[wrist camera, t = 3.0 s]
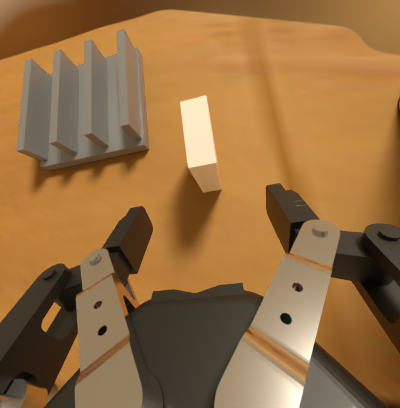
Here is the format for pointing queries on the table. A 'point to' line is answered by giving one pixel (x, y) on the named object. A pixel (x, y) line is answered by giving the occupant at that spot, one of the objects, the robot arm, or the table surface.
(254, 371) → the robot arm
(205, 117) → the tall cream block
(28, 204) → the table surface
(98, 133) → the dish rack
